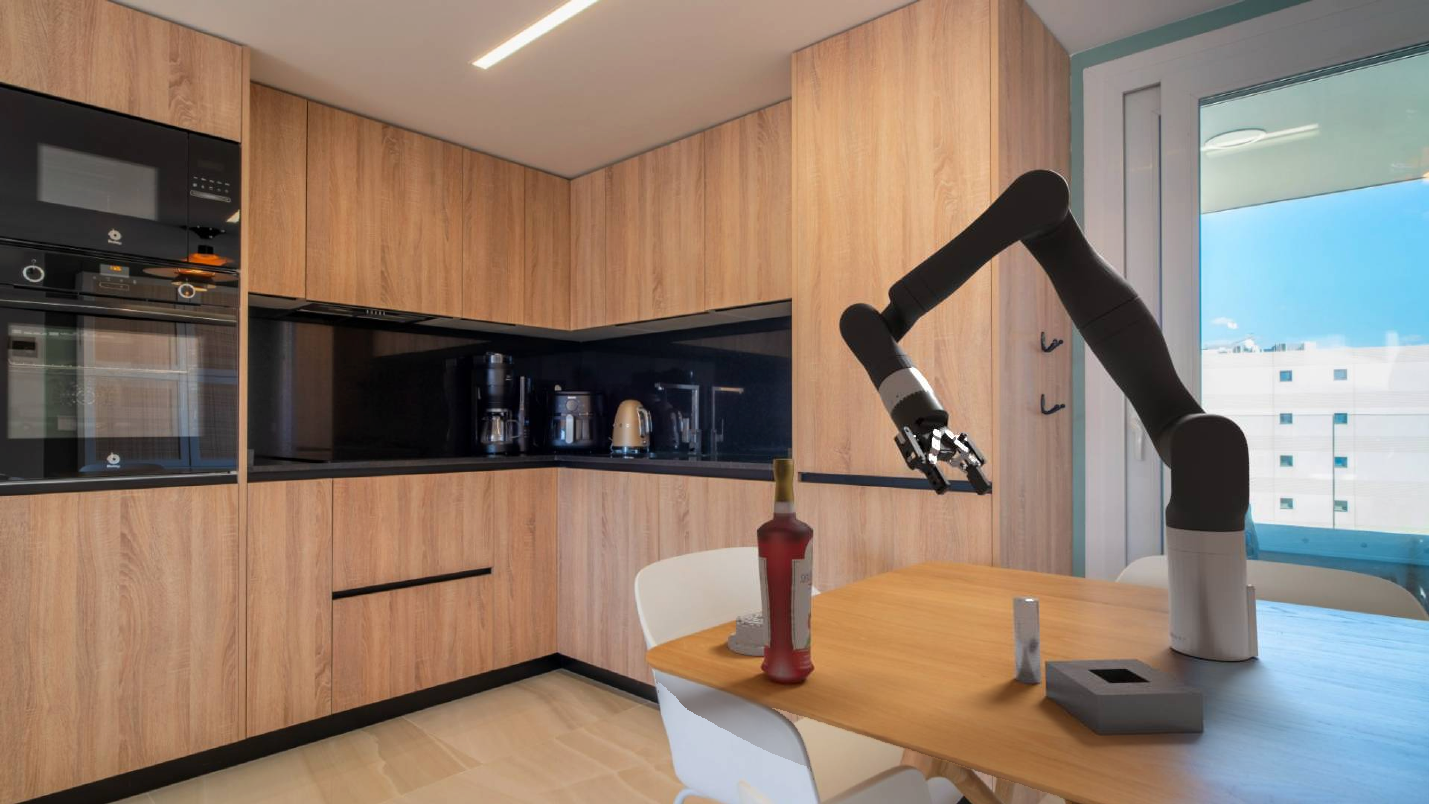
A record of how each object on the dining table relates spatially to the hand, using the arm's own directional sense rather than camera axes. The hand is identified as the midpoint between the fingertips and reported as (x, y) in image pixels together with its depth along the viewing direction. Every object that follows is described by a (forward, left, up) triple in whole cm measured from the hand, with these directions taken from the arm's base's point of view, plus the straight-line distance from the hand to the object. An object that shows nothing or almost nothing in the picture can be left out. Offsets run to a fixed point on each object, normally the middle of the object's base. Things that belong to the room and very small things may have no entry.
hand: (965, 492), depth 100 cm
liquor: (+26, +6, -23) cm, 35 cm away
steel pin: (-4, +9, -23) cm, 25 cm away
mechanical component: (+28, -8, -23) cm, 37 cm away
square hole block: (-9, +20, -23) cm, 32 cm away
